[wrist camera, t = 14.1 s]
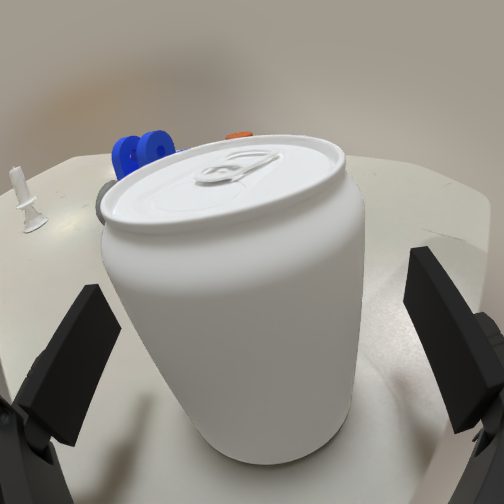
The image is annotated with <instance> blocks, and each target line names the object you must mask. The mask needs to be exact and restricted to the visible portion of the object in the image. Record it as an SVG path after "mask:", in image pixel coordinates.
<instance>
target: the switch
mask: <svg viewBox="0 0 504 504" xmlns="http://www.w3.org/2000/svg"><path fill="white" fill-rule="evenodd" d="M250 136H253V135H252V133H251V132H240V133H235V134H232V135H229V136H227V137H226V140H229V139H235V138H242V137H250Z"/></svg>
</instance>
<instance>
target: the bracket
mask: <svg viewBox="0 0 504 504" xmlns="http://www.w3.org/2000/svg"><path fill="white" fill-rule="evenodd" d="M189 149H190V148H189ZM185 150H187V149H185ZM181 151H184V150H181ZM181 151H177V152H176V151H175V147H174V143H173V141H172V139H171V137H170V136H169V135H168V134H167V133H166V132H165V131H161V130H159V131H153V132H148V133H146V134H144V135H143V136H142V137H141V138H140V137H137V136H129V137H125V138H121V139H120V140H118V141H117V142H116V144H115V145H114V147H113V150H112V163H113V167H114V170H115V173H116V176H117V180H118V181H120V180H121V179H123V178H124V177H126V176H127V175H129V174H131V173H132V172H134V171H136V170H138V169H140V168H142V167H143V166H146V165H148V164H150V163H152V162H154V161H156V160H159V159H161V158H164V157H166V156H169V155H172V154H175V153H178V152H181ZM130 155H131V158H130Z"/></svg>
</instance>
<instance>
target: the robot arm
mask: <svg viewBox="0 0 504 504" xmlns="http://www.w3.org/2000/svg"><path fill="white" fill-rule="evenodd" d="M403 303H404V305H405V307H406V309H407V311H408V314H409V316H410V318H411V320H412V322H413V325H414V327H415V329H416V332H417V334H418V336H419V339H420V341H421V343H422V346H423V348H424V351H425V353H426V355H427V358H428V360H429V363H430V365H431V368H432V371H433V373H434V376H435V378H436V381H437V384H438V386H439V389H440V392H441V395H442V398H443V400H444V403H445V406H446V409H447V412H448V415H449V418H450V421H451V424H452V427H453V430H454V434H457V433H460V432H463V431H466V430H468V429H471V428H474V427H475V425H476V424H477V423H478V422H479V421H480V419H481V421H482V423H483V428H482V429H481V430H480V431H479V432H478V433H477V434H476V436H475V437H474V439H473V440H472V441H473V442H475V441H476V440H477V439H478V440H477V442H476V445H475V447H474V450H473V452H472V455H471V457H470V459H469V462H468V464H467V466H466V468H465V471H464V473H463V475H462V477H461V479H460V481H459V483H458V485H457V487H456V489H455V491H454V493H453V495H452V497H451V499H450V501H449V503H448V504H504V337H503V335H502V334H501V333H500V330H499V328H498V327H497V325H496V324H495V322H494V320H492V319H491V318H490V317H489V316H487V315H486V314H485V313H484V312H481V313H476V314H473V313H472V311H471V310H470V308H469V306H468V305H467V303H466V302H465V300H464V299H463V297H462V295H461V294H460V292H459V291H458V289H457V288H456V286H455V285H454V283H453V282H452V280H451V279H450V277H449V276H448V274H447V273H446V271H445V270H444V269H443V267H442V266H441V264H440V263H439V261H438V260H437V259H436V257H435V256H434V255H433V253H432V252H431V250H430V249H429V248H428V246H425V247H417V248H411V250H410V258H409V266H408V273H407V280H406V287H405V293H404V299H403ZM121 329H122V328H121V326H120V325H119V323H118V321H117V319H116V317H115V316H114V314H113V312H112V310H111V308H110V306H109V304H108V302H107V300H106V299H105V297H104V295H103V293H102V291H101V289H100V287H99V285H98V284H91V285H85V286H84V288H83V289H82V291H81V292H80V294H79V295H78V297H77V298H76V300H75V301H74V303H73V304H72V306H71V307H70V309H69V311H68V312H67V314H66V315H65V317H64V319H63V320H62V322H61V323H60V325H59V327H58V328H57V330H56V332H55V333H54V335H53V337H52V338H51V340H50V342H49V344H48V345H47V347H46V349H45V350H44V351H43V352H42V353H41V354H40V355H39V356H38V357H37V358H36V359H35V361H34V363H33V365H32V367H31V370H29V372H28V374H27V378H25V380H24V381H23V383H22V385H21V387H20V389H19V391H18V393H17V395H16V397H15V399H14V401H13V403H12V405H10V404H9V403H8V402H6V400H5V399H4V398H3V397H2V396H1V395H0V504H74V502H73V500H72V497H71V495H70V492H69V489H68V487H67V484H66V481H65V479H64V476H63V473H62V470H61V467H60V464H59V461H58V458H57V454H56V451H55V448H54V445H53V443H52V442H51V441H50V438H51V436H52V437H54V438H55V439H56V440H57V441H58V442H60V443H62V444H65V445H69V446H72V447H75V444H76V441H77V438H78V435H79V432H80V429H81V427H82V424H83V421H84V419H85V416H86V413H87V411H88V408H89V405H90V403H91V400H92V398H93V395H94V392H95V390H96V387H97V385H98V382H99V380H100V378H101V375H102V373H103V370H104V368H105V365H106V363H107V361H108V358H109V356H110V354H111V351H112V349H113V347H114V345H115V342H116V340H117V338H118V335H119V333H120V331H121Z"/></svg>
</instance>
